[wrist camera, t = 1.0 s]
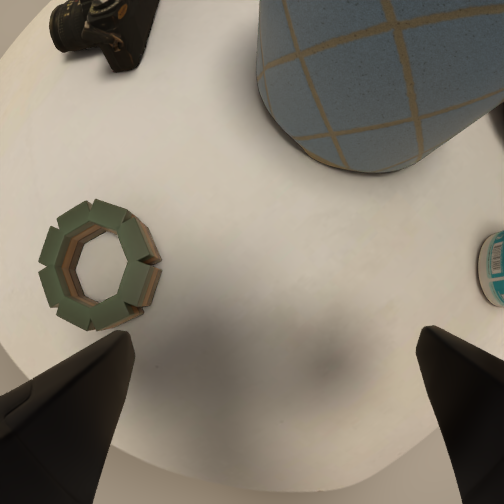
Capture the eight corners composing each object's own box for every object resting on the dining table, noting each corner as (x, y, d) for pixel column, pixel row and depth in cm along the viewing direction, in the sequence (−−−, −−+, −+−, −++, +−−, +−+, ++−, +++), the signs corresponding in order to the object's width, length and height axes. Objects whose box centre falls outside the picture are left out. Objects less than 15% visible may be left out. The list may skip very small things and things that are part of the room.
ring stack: (139, 342, 21) (124, 349, 18) (50, 300, 21) (27, 299, 18) (175, 232, 23) (166, 222, 19) (83, 201, 23) (64, 188, 19)
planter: (461, 167, 25) (602, 71, 5) (289, 209, 23) (432, -26, 4) (381, 29, 27) (444, -90, 8) (224, 39, 26) (226, -136, 6)
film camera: (68, 18, 26) (44, -32, 16) (157, -15, 27) (146, -72, 17) (65, 109, 24) (17, 48, 14) (184, 63, 25) (170, -17, 15)
